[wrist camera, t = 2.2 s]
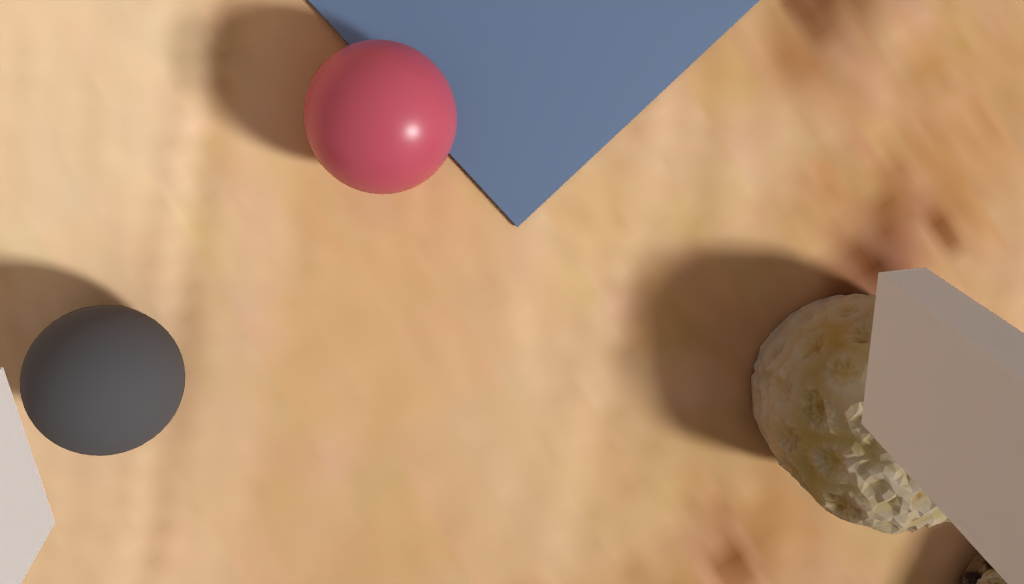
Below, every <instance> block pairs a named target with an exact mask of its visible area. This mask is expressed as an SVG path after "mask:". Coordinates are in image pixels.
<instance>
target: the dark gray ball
mask: <svg viewBox="0 0 1024 584" xmlns="http://www.w3.org/2000/svg"><path fill="white" fill-rule="evenodd" d="M184 387H185V369H184V362H183V358H182V355H181V353H180V350H179V348H178V346H177V344H176V343H175V341H174V339H173V338H172V337H171V335H170V334H169V333H168V332H167V331H166V330H165V329H164V328H163V327H162V326H161V325H160V324H159V323H158V322H156V321H155V320H154V319H152V318H150V317H149V316H147V315H145V314H143V313H141V312H139V311H136V310H133V309H130V308H127V307H121V306H114V305H99V306H91V307H86V308H82V309H78V310H75V311H73V312H70V313H68V314H66V315H64V316H62V317H60V318H59V319H57V320H55V321H54V322H52V323H51V324H50V325H49V326H48V327H46V328H45V329H44V330H43V331H42V332H41V333H40V335H39V336H38V337H37V338H36V339H35V340H34V342H33V343H32V345H31V346H30V348H29V350H28V352H27V355H26V357H25V359H24V362H23V365H22V369H21V376H20V392H21V398H22V402H23V405H24V408H25V410H26V412H27V414H28V416H29V418H30V419H31V421H32V423H33V424H34V425H35V427H36V428H37V429H38V430H39V431H40V432H41V433H42V434H43V435H44V436H45V437H46V438H48V439H49V440H50V441H52V442H53V443H55V444H57V445H58V446H60V447H62V448H65V449H67V450H70V451H73V452H77V453H80V454H86V455H97V456H103V455H113V454H118V453H122V452H126V451H129V450H132V449H134V448H137V447H139V446H141V445H143V444H144V443H146V442H147V441H149V440H151V439H152V438H154V437H155V436H156V435H157V434H158V433H160V432H161V431H162V430H163V429H164V427H165V426H166V425H167V424H168V423H169V422H170V420H171V419H172V417H173V416H174V415H175V413H176V411H177V409H178V407H179V405H180V402H181V399H182V396H183V392H184Z"/></svg>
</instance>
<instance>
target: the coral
mask: <svg viewBox="0 0 1024 584" xmlns="http://www.w3.org/2000/svg"><path fill="white" fill-rule="evenodd" d="M875 299H876V296H875V295H872V294H871V295H865V294H856V293H855V294H850V295H845V296H844V295H842V294H841V295H834V296H831V297H827V298H824V299H819V300H815V301H813V302H811V303H809V304H807V305H805V306H803V307H801V308H800V309H798V310H796V311H794V312H792V313H791V314H790V315H789V316H787V317H786V318H785V319H784V320H783V321H782V322H781V323H780V324H779V325H778V326H777V327H776V328H775V329H774V330H773V331H772V332H771V333H770V334H769V336H768V337H767V338H766V340H765V341H764V342H763V344H762V345H761V346H760V350H759V355H758V357H757V359H756V361H755V364H754V366H753V367H754V371H755V372H754V373H753V374H752V375H751V391H752V405H753V415H754V418H755V420H756V422H757V424H758V427H759V431H760V432H761V434H762V435H763V437H764V439H765V441H766V442H767V444H768V445H769V447H770V450H771V451H772V453H773V454H774V455H775V456H776V458H777V460H778V462H779V465H780V466H782V467H783V468H784V469H785V470H787V471H788V472H789V473H790V474H791V476H793V477H794V478H795V479H796V480H797V481H798V482H799V483H800V485H801V486H802V487H803V488H804V489H806V490H807V491H808V492H809V493H810V494H811V495H812V496H813V497H814V499H815V500H816V501H817V502H818V503H819V504H820V505H821V506H822V507H823V508H824V509H825V510H826V511H828V512H830V513H832V514H833V515H835V516H837V517H838V518H840V519H843V520H846V521H848V522H851V523H854V524H859V525H863V526H867V527H871V528H873V529H875V530H878V531H881V532H884V533H890V534H896V533H901V532H905V531H911V532H913V531H915V530H918V529H921V528H922V527H923V526H926V527H928V528H930V527H931V526H933V525H938V524H940V523H942V522H951V521H950V520H949V519H948V518H947V517H946V516H945V515H944V514H943V512H942V511H941V510H940V509H939V508H938V507H937V506H936V505H935V504H934V503H933V502H932V500H931V499H930V498H929V497H928V496H927V495H926V494H925V493H924V492H923V491H922V489H921V488H920V487H919V486H918V485H917V484H916V483H915V482H914V481H913V480H912V478H911V477H910V476H909V475H908V474H907V473H906V472H905V471H904V470H903V469H902V468H901V466H900V465H899V464H898V463H897V462H896V461H895V460H894V459H893V458H892V457H891V455H890V454H889V453H888V452H887V451H886V450H885V449H884V448H883V447H882V446H881V445H880V443H879V442H878V441H877V440H876V439H875V438H874V437H873V436H872V435H871V434H870V432H869V431H868V430H867V429H866V428H865V427H864V426H863V425H862V424H861V420H862V412H863V403H864V394H865V386H866V377H867V368H868V360H869V351H870V342H871V334H872V325H873V317H874V308H875Z"/></svg>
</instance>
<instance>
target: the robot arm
mask: <svg viewBox="0 0 1024 584" xmlns="http://www.w3.org/2000/svg"><path fill="white" fill-rule="evenodd" d="M861 424H862V425H863V426H864V427H865V428H866V429H867V430H868V431H869V432H870V434H871V435H872V436H873V437H874V438H875V439H876V440H877V441H878V442H879V443H880V445H881V446H882V447H883V448H884V449H885V450H886V451H887V452H888V453H889V454H890V455H891V457H892V458H893V459H894V460H895V461H896V462H897V463H898V464H899V465H900V466H901V468H902V469H903V470H904V471H905V472H906V473H907V474H908V475H909V476H910V477H911V478H912V480H913V481H914V482H915V483H916V484H917V485H918V486H919V487H920V488H921V489H922V491H923V492H924V493H925V494H926V495H927V496H928V497H929V498H930V499H931V500H932V502H933V503H934V504H935V505H936V506H937V507H938V508H939V509H940V510H941V511H942V512H943V514H944V515H945V516H946V517H947V518H948V519H949V520H950V521H951V522H952V523H953V525H954V526H955V527H956V528H957V529H958V530H959V531H960V532H961V533H962V534H963V535H964V537H965V538H966V539H967V540H968V541H969V542H970V543H971V544H972V545H973V546H974V548H975V549H976V550H977V551H978V552H979V553H980V554H981V555H982V556H983V557H984V559H985V560H986V561H987V562H988V563H989V564H990V565H991V566H992V567H993V568H994V569H995V571H996V572H997V573H998V574H999V575H1000V576H1001V577H1002V578H1003V579H1004V580H1005V582H1006V583H1007V584H1024V333H1023V332H1021V331H1020V330H1018V329H1017V328H1015V327H1014V326H1012V325H1011V324H1009V323H1008V322H1006V321H1005V320H1003V319H1002V318H1000V317H999V316H997V315H996V314H994V313H993V312H991V311H990V310H988V309H987V308H985V307H984V306H982V305H981V304H979V303H978V302H976V301H975V300H973V299H972V298H970V297H969V296H967V295H966V294H964V293H963V292H961V291H960V290H958V289H957V288H955V287H954V286H952V285H951V284H949V283H948V282H946V281H945V280H943V279H942V278H940V277H939V276H937V275H936V274H934V273H933V272H931V271H930V270H928V269H927V268H916V269H907V270H897V271H888V272H879V273H878V282H877V291H876V299H875V308H874V317H873V325H872V334H871V342H870V351H869V360H868V368H867V377H866V386H865V394H864V403H863V412H862V420H861ZM54 524H55V520H54V517H53V514H52V511H51V508H50V505H49V502H48V499H47V496H46V493H45V490H44V487H43V484H42V481H41V478H40V475H39V472H38V469H37V466H36V463H35V460H34V457H33V455H32V452H31V449H30V446H29V443H28V440H27V437H26V434H25V431H24V428H23V425H22V422H21V419H20V416H19V413H18V410H17V407H16V404H15V401H14V398H13V395H12V392H11V389H10V386H9V383H8V380H7V377H6V374H5V371H4V368H3V367H0V584H21V582H22V581H23V579H24V577H25V575H26V574H27V572H28V570H29V568H30V566H31V565H32V563H33V561H34V559H35V558H36V556H37V554H38V552H39V550H40V549H41V547H42V545H43V543H44V542H45V540H46V538H47V536H48V534H49V533H50V531H51V529H52V527H53V526H54Z"/></svg>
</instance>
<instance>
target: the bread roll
mask: <svg viewBox="0 0 1024 584" xmlns="http://www.w3.org/2000/svg"><path fill="white" fill-rule="evenodd" d="M960 584H1007V583H1006V582H1005V580H1004V579H1003V578H1002V577H1001V576H1000V575H999V574H998V573H997V572H996V571H995V569H994V568H993V567H992V566H991V565H990V564H989V563H988V562H987V561H986V560H985V559H984V557H983V556H982V555H981V554H980V553H977V554H976V555H975V557H974V558H973V559H972V560H971V562H970V563H969V565H968V567H967V569H966V570H965V571H964V573H963V574H962V576H961V580H960Z"/></svg>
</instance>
